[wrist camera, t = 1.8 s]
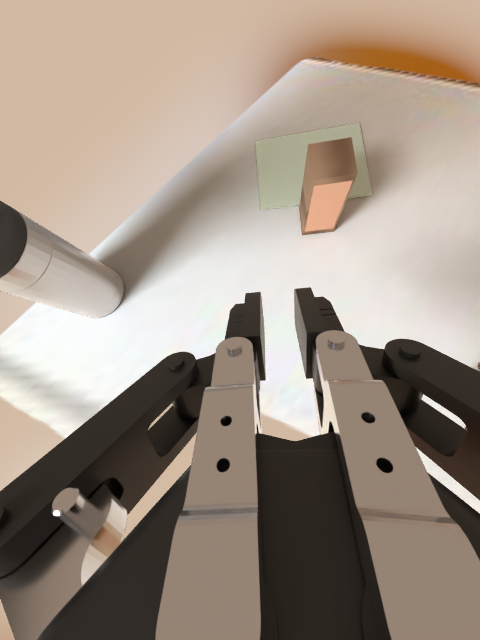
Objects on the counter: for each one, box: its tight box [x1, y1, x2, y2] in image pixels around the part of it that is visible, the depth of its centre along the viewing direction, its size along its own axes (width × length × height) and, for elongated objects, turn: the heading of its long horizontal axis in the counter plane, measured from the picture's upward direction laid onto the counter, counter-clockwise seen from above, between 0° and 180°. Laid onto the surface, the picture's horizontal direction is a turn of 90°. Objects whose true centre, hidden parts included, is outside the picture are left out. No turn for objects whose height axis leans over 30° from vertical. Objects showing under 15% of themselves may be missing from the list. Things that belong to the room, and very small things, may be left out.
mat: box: [255, 123, 372, 211], centre depth 42 cm, size 18×14×1 cm
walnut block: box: [299, 137, 358, 235], centre depth 35 cm, size 5×5×12 cm
